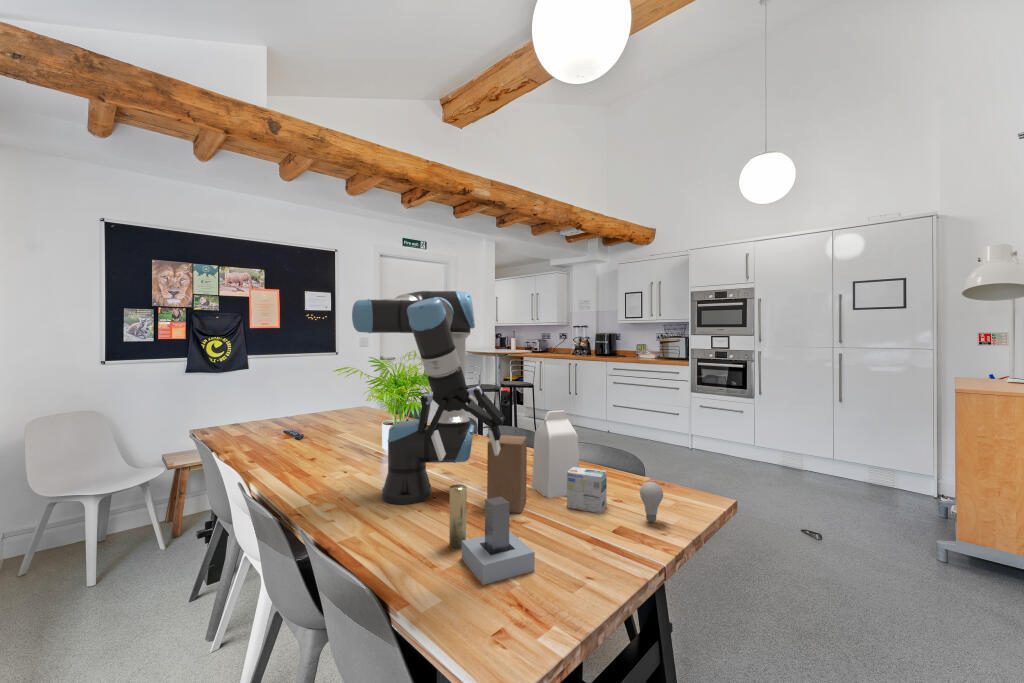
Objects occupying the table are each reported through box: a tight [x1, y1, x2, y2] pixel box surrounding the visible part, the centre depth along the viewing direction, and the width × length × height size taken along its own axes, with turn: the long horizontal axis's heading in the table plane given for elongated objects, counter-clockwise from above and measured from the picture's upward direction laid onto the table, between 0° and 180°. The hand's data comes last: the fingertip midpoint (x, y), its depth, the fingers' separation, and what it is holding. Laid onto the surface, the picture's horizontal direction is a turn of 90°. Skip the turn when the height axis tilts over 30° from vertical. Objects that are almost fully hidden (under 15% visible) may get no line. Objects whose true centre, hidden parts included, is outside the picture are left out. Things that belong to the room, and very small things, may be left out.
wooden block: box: [486, 434, 528, 514], centre depth 130 cm, size 10×10×20 cm
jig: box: [461, 530, 536, 586], centre depth 96 cm, size 12×12×4 cm
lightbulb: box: [639, 481, 664, 524], centre depth 119 cm, size 6×6×11 cm
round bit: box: [448, 484, 468, 550], centre depth 105 cm, size 4×4×14 cm
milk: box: [531, 410, 580, 499], centre depth 144 cm, size 12×12×26 cm
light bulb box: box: [566, 467, 608, 514], centre depth 129 cm, size 11×7×11 cm, turn 65°
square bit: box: [484, 497, 510, 555], centre depth 96 cm, size 4×4×14 cm
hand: (469, 454), depth 100 cm, fingers open, 13 cm apart
